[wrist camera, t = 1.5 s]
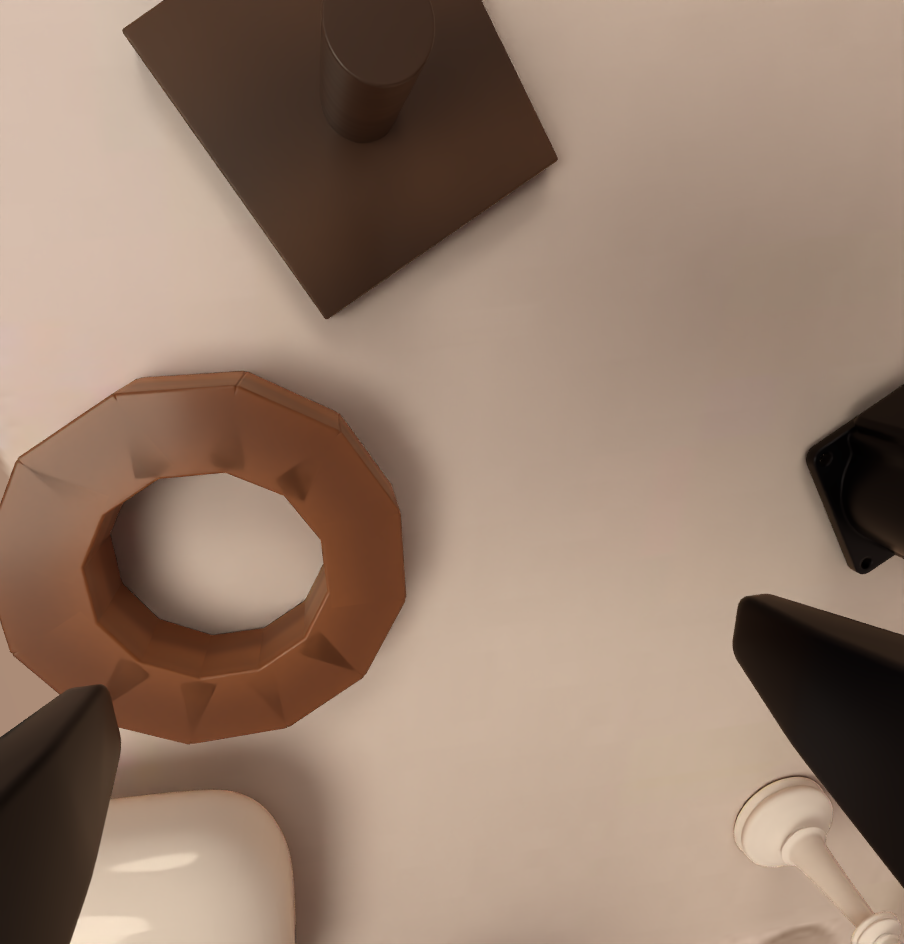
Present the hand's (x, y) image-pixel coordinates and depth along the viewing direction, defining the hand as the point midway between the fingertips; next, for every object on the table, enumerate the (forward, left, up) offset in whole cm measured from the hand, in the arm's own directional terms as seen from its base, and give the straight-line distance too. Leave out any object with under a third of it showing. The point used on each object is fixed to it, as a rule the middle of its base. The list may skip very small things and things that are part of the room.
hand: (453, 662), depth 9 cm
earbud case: (-10, +17, -12) cm, 23 cm away
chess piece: (-27, -5, -12) cm, 30 cm away
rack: (+8, -5, -12) cm, 15 cm away
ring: (0, +6, -12) cm, 13 cm away
